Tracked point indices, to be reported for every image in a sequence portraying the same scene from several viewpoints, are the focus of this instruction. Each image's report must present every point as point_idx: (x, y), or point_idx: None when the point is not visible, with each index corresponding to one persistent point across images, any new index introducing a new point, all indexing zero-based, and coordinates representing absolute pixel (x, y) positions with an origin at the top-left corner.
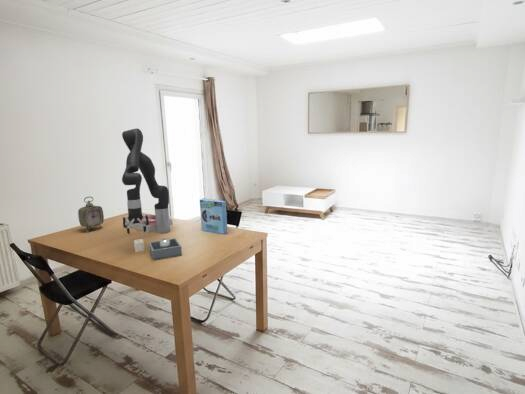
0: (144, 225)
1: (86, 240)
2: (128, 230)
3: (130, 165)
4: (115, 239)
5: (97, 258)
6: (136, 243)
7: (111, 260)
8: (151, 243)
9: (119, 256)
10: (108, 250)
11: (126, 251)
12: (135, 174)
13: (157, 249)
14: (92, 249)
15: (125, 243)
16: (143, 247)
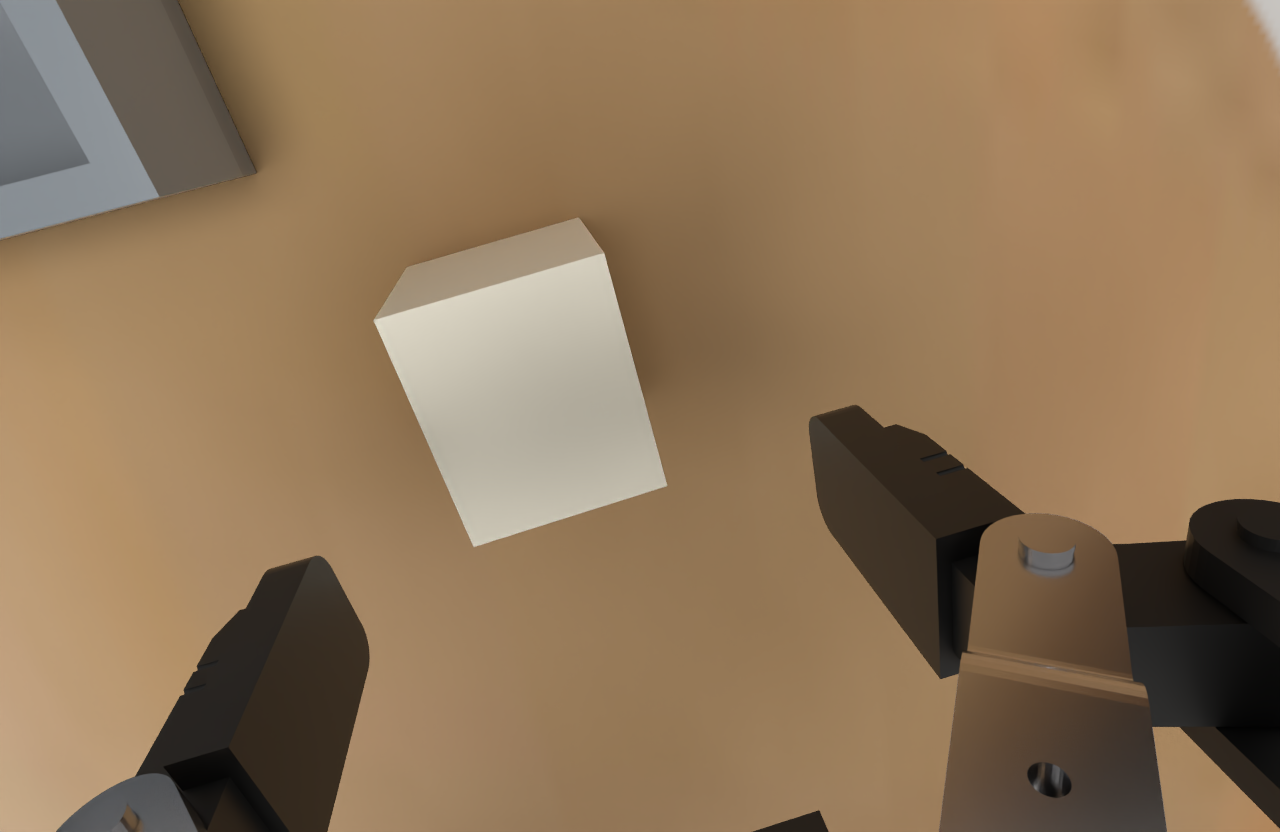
0: (117, 820)
1: None
2: (924, 473)
3: None
4: None
5: (1226, 25)
6: (561, 259)
7: None
8: (83, 168)
9: (866, 11)
10: (1040, 401)
11: (759, 285)
12: None
13: (16, 135)
14: (1230, 483)
15: (810, 654)
16: (413, 277)
